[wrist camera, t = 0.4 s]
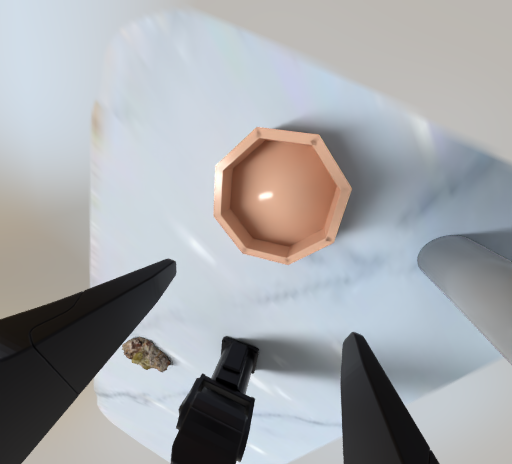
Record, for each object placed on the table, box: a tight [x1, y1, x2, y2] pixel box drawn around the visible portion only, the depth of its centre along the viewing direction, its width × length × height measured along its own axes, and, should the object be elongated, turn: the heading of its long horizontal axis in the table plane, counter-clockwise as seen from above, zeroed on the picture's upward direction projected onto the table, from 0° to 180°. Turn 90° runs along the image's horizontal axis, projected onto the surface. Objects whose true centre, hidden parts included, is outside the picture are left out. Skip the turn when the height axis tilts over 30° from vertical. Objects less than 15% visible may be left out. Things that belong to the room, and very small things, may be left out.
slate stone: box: [417, 235, 512, 365], centre depth 14 cm, size 5×5×12 cm
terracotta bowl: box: [214, 127, 352, 265], centre depth 20 cm, size 13×13×4 cm
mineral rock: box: [122, 337, 170, 372], centre depth 41 cm, size 11×4×8 cm
